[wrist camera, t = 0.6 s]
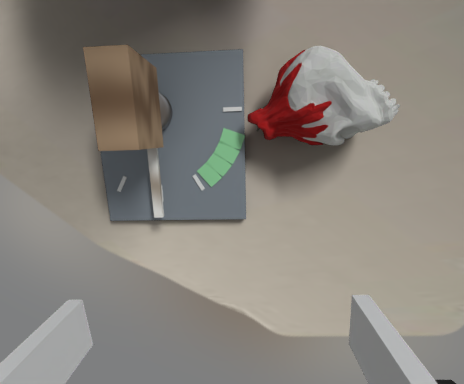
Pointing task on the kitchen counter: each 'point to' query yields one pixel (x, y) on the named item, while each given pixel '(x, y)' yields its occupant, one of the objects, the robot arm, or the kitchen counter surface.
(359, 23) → the kitchen counter surface
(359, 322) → the robot arm
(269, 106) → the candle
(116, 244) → the kitchen counter surface
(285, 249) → the kitchen counter surface
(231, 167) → the dial board
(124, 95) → the knob
